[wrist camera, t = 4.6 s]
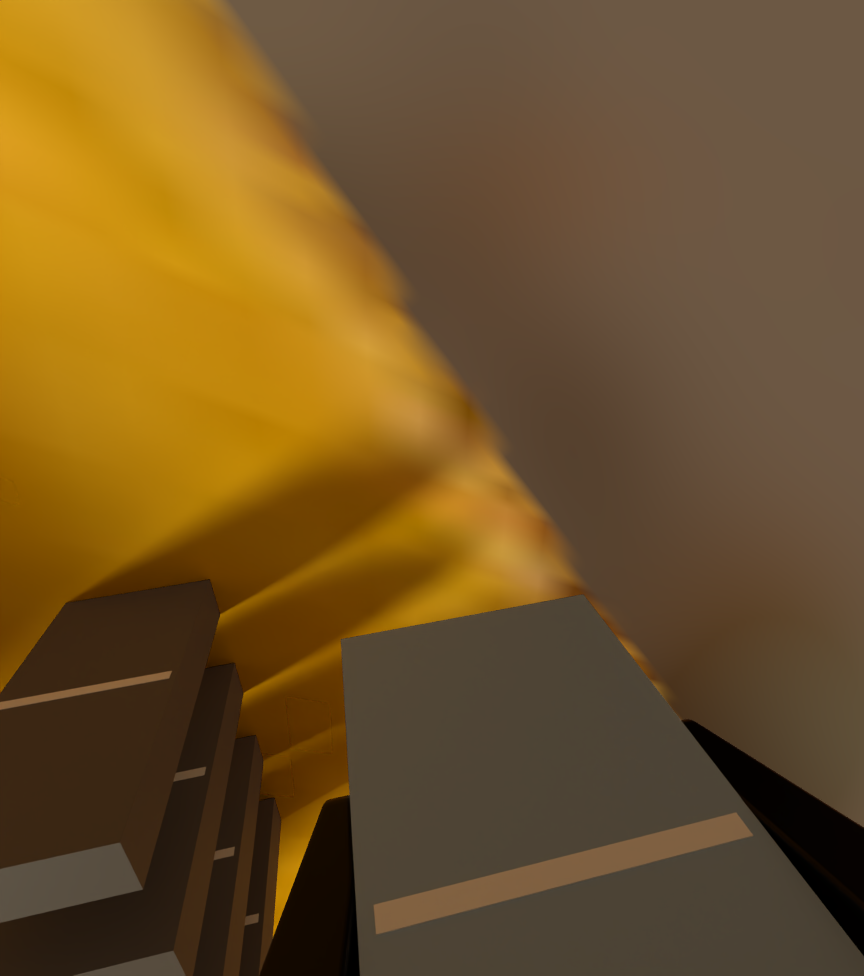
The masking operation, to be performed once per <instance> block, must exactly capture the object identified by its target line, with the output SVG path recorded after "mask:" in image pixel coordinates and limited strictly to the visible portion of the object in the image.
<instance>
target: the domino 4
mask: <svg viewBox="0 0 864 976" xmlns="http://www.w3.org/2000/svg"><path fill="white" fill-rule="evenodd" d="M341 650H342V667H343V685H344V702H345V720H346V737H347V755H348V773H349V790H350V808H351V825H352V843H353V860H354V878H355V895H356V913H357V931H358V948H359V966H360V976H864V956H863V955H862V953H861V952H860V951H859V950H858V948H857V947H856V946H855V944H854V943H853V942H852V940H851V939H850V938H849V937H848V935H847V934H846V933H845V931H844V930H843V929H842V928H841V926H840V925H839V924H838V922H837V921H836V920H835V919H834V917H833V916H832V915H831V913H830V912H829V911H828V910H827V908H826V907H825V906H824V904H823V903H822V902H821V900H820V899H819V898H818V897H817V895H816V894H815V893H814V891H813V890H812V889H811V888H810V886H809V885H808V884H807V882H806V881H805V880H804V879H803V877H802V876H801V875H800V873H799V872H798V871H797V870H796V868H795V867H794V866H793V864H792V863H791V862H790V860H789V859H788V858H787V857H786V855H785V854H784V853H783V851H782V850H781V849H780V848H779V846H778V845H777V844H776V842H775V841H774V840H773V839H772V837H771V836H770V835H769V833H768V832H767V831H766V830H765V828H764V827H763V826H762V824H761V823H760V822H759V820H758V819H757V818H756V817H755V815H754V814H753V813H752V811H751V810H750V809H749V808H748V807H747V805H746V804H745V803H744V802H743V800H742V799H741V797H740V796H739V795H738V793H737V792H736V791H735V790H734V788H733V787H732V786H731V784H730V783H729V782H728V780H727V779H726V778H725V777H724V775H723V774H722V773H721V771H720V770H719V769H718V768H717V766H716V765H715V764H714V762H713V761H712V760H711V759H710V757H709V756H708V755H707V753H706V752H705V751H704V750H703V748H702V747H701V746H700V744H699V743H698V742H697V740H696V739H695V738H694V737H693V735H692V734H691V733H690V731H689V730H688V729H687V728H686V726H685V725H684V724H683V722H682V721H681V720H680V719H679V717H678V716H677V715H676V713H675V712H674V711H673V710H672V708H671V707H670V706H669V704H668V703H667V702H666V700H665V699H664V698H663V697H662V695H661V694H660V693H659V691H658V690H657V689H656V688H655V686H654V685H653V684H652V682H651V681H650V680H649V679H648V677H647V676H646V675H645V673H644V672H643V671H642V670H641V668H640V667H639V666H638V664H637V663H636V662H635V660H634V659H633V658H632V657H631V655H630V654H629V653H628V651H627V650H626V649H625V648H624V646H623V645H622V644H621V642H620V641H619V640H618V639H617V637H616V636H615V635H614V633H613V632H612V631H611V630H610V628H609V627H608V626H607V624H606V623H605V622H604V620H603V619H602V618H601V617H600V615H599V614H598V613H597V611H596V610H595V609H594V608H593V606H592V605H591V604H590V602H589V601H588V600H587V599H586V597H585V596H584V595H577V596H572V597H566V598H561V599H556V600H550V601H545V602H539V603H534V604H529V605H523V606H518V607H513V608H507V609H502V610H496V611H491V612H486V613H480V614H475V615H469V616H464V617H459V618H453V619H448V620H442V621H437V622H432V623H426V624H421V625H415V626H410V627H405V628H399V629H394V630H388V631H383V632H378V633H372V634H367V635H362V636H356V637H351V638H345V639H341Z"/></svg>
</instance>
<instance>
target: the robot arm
mask: <svg viewBox="0 0 864 976" xmlns="http://www.w3.org/2000/svg"><path fill="white" fill-rule="evenodd" d="M681 721H682V722H683V724H684V725H685V726H686V728H687V729H688V730H689V731H690V733H691V734H692V735H693V737H694V738H695V739H696V740H697V742H698V743H699V744H700V746H701V747H702V748H703V750H704V751H705V752H706V753H707V755H708V756H709V757H710V759H711V760H712V761H713V762H714V764H715V765H716V766H717V768H718V769H719V770H720V771H721V773H722V774H723V775H724V777H725V778H726V779H727V780H728V782H729V783H730V784H731V786H732V787H733V788H734V790H735V791H736V792H737V793H738V795H739V796H740V797H741V799H742V800H743V802H744V803H745V804H746V805H747V807H748V808H749V809H750V810H751V811H752V813H753V814H754V815H755V817H756V818H757V819H758V820H759V822H760V823H761V824H762V826H763V827H764V828H765V830H766V831H767V832H768V833H769V835H770V836H771V837H772V839H773V840H774V841H775V842H776V844H777V845H778V846H779V848H780V849H781V850H782V851H783V853H784V854H785V855H786V857H787V858H788V859H789V860H790V862H791V863H792V864H793V866H794V867H795V868H796V870H797V871H798V872H799V873H800V875H801V876H802V877H803V879H804V880H805V881H806V882H807V884H808V885H809V886H810V888H811V889H812V890H813V891H814V893H815V894H816V895H817V897H818V898H819V899H820V900H821V902H822V903H823V904H824V906H825V907H826V908H827V910H828V911H829V912H830V913H831V915H832V916H833V917H834V919H835V920H836V921H837V922H838V924H839V925H840V926H841V928H842V929H843V930H844V931H845V933H846V934H847V935H848V937H849V938H850V939H851V940H852V942H853V943H854V944H855V946H856V947H857V948H858V950H859V951H860V952H861V953H862V955H863V956H864V827H862V826H860V825H859V824H857V823H856V822H854V821H852V820H851V819H849V818H848V817H846V816H845V815H843V814H841V813H840V812H838V811H837V810H835V809H833V808H832V807H830V806H829V805H827V804H825V803H824V802H822V801H821V800H819V799H818V798H816V797H814V796H813V795H811V794H809V793H808V792H807V791H805V790H803V789H802V788H800V787H799V786H797V785H795V784H794V783H792V782H791V781H789V780H787V779H786V778H784V777H783V776H781V775H779V774H778V773H776V772H775V771H773V770H771V769H770V768H768V767H767V766H765V765H764V764H762V763H760V762H759V761H757V760H756V759H754V758H752V757H751V756H749V755H748V754H746V753H745V752H743V751H741V750H740V749H738V748H737V747H735V746H733V745H732V744H730V743H729V742H727V741H725V740H724V739H722V738H721V737H719V736H717V735H716V734H714V733H713V732H711V731H710V730H708V729H706V728H705V727H703V726H701V725H700V724H698V723H697V722H695V721H693V720H689V719H684V720H681ZM259 976H360V966H359V948H358V931H357V913H356V895H355V878H354V860H353V843H352V825H351V808H350V795H347V796H342V797H338V798H333V799H329V800H327V801H326V802H325V803H324V805H323V807H322V809H321V812H320V815H319V817H318V820H317V823H316V825H315V828H314V831H313V833H312V836H311V839H310V841H309V844H308V847H307V849H306V852H305V854H304V857H303V860H302V862H301V865H300V868H299V870H298V873H297V876H296V878H295V881H294V884H293V886H292V889H291V892H290V894H289V897H288V900H287V902H286V905H285V908H284V910H283V913H282V916H281V918H280V921H279V923H278V926H277V929H276V931H275V934H274V937H273V939H272V942H271V945H270V947H269V950H268V953H267V955H266V958H265V961H264V963H263V966H262V969H261V971H260V974H259Z"/></svg>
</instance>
